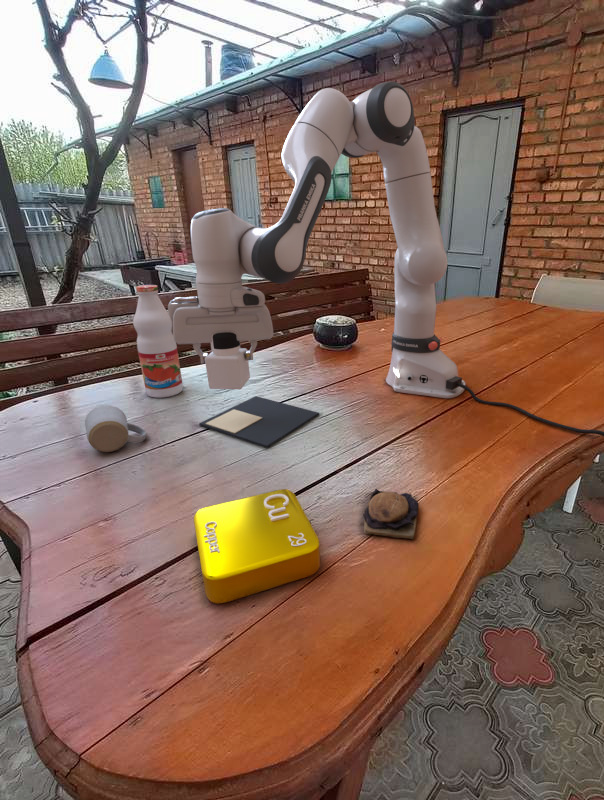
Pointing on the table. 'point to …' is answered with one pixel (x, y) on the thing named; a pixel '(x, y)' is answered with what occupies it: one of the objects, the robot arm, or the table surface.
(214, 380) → the medicine bottle
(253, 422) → the mat
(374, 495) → the brown layered stack
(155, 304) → the fruit juice
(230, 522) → the element tile
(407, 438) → the table surface
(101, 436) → the ceramic mug
